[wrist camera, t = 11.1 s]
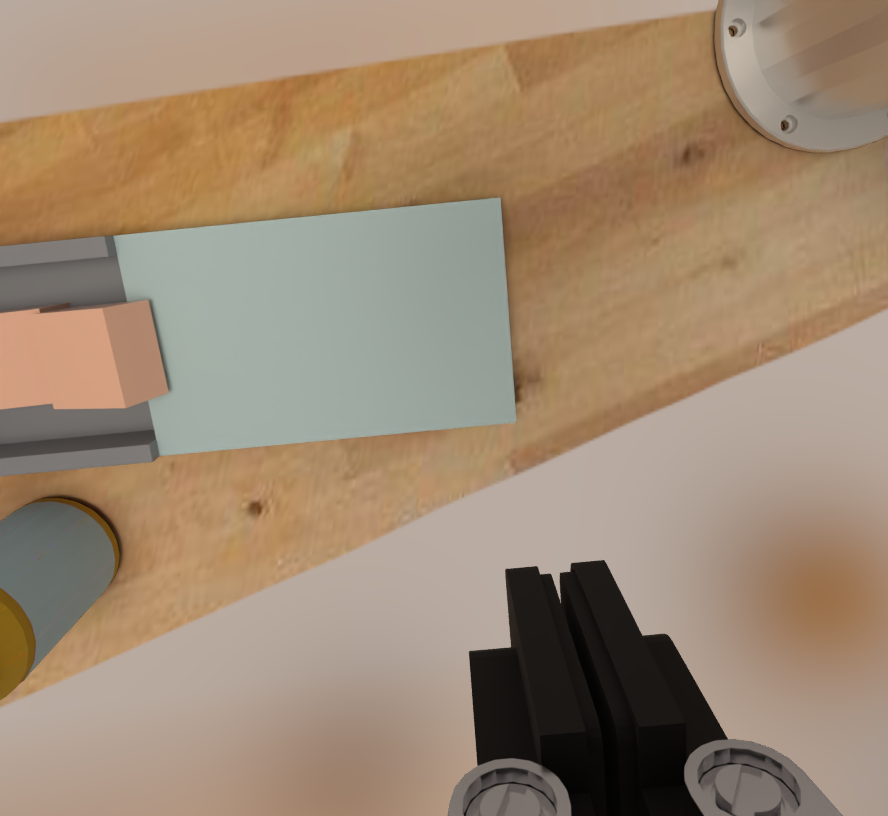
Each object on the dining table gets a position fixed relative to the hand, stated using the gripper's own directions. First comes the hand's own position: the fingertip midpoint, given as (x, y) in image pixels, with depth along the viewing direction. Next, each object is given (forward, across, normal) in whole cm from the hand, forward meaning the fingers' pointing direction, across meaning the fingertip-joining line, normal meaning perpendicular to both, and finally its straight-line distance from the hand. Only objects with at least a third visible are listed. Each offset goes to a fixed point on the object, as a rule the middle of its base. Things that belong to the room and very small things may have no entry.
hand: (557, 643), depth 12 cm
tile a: (+27, +19, -2) cm, 33 cm away
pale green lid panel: (+29, +8, -2) cm, 30 cm away
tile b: (+29, +25, -2) cm, 38 cm away
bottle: (+29, +26, +10) cm, 40 cm away
